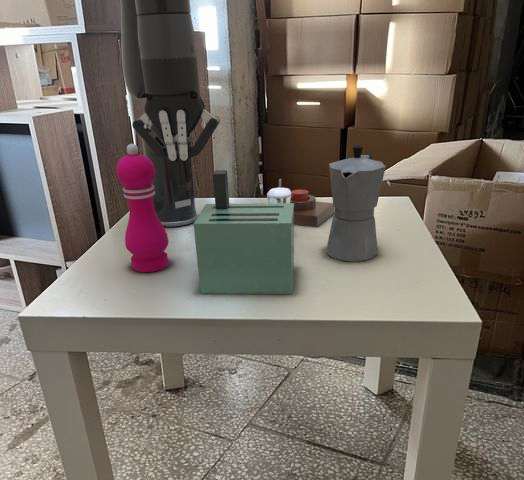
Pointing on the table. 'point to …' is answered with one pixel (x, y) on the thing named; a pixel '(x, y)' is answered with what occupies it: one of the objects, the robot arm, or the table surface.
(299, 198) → the button
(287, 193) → the milkshake
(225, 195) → the dark grey upright bar
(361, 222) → the coffeepot
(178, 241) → the table surface
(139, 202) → the pepper mill
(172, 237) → the table surface
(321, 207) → the block
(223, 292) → the toaster
